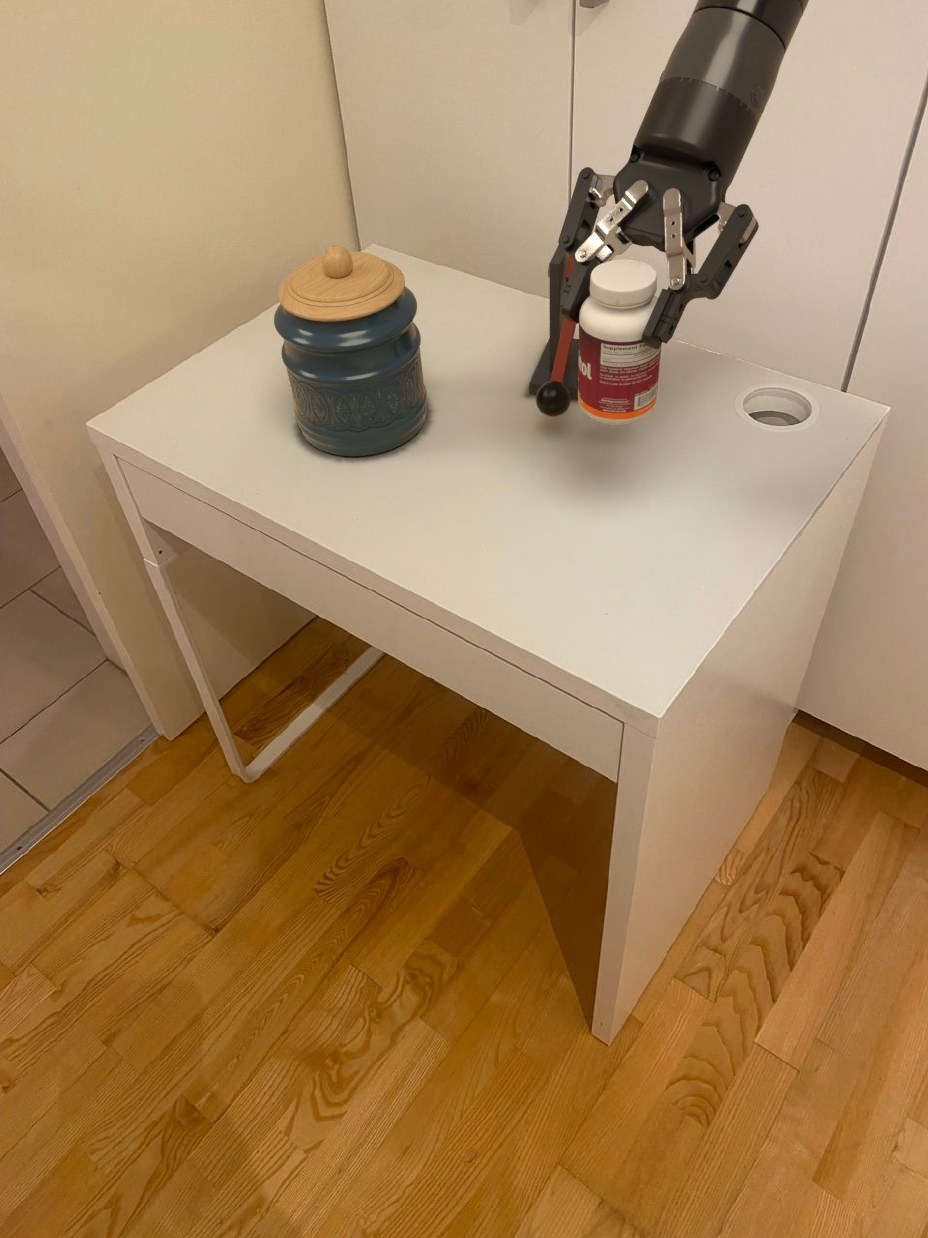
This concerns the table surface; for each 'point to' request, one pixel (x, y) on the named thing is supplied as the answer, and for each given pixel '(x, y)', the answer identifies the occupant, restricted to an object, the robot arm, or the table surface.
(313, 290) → the canister
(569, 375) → the bracket
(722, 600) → the table surface
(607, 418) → the pill bottle
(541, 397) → the lever
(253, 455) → the table surface
